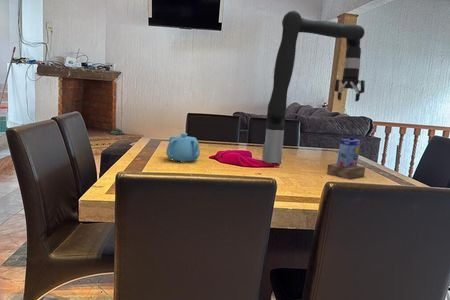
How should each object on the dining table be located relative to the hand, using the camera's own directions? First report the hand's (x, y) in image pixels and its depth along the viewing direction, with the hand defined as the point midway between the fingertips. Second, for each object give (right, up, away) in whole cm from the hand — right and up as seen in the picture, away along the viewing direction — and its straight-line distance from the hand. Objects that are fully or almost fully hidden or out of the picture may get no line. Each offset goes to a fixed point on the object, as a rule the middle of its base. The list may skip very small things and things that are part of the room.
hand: (348, 100), depth 194 cm
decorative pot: (-82, -30, -3) cm, 88 cm away
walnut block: (-6, -37, -14) cm, 40 cm away
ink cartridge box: (-5, -32, -15) cm, 36 cm away
